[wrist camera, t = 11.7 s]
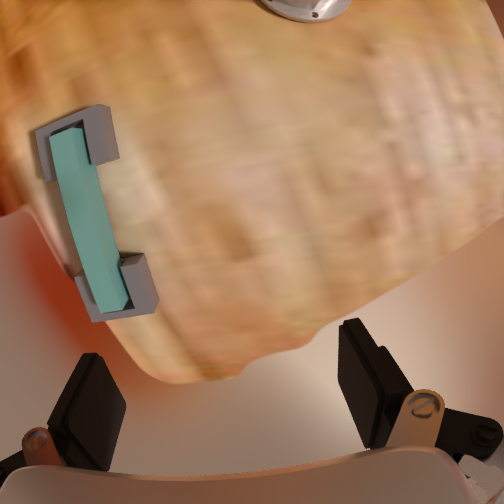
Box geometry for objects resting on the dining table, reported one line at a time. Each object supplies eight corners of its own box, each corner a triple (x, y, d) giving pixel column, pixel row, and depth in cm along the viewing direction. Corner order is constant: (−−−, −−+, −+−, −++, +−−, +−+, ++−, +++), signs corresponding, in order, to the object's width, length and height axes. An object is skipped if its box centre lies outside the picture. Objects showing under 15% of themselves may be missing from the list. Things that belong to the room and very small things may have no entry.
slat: (67, 136, 31) (49, 137, 26) (88, 128, 31) (71, 127, 26) (111, 296, 38) (100, 313, 33) (132, 292, 38) (122, 310, 33)
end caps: (49, 131, 31) (34, 131, 28) (109, 106, 31) (98, 103, 28) (100, 309, 39) (92, 322, 36) (159, 299, 39) (154, 313, 36)
